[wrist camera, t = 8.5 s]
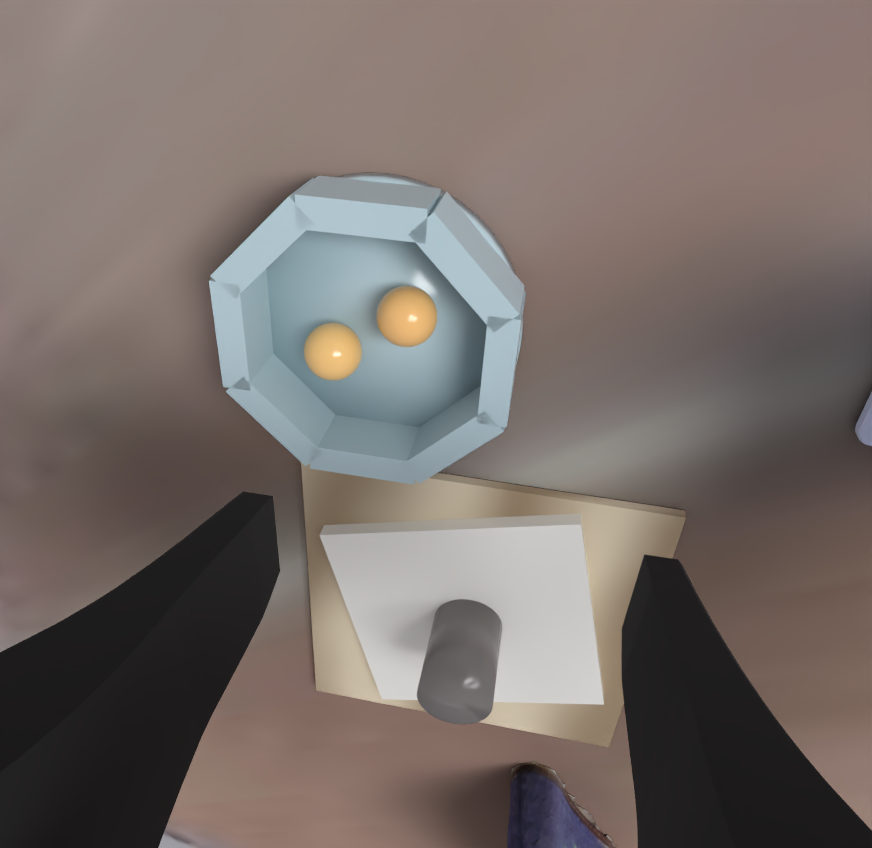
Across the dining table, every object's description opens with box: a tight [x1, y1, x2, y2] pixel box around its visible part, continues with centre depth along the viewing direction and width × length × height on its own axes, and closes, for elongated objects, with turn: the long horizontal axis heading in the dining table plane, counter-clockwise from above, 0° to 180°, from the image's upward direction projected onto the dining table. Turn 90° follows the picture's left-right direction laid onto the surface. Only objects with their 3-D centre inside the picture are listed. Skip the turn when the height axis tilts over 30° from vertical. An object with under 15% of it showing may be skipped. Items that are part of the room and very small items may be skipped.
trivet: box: [301, 463, 686, 747], centre depth 29 cm, size 14×14×1 cm
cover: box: [320, 513, 604, 724], centre depth 27 cm, size 10×10×4 cm
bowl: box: [209, 172, 526, 485], centre depth 21 cm, size 9×9×3 cm
